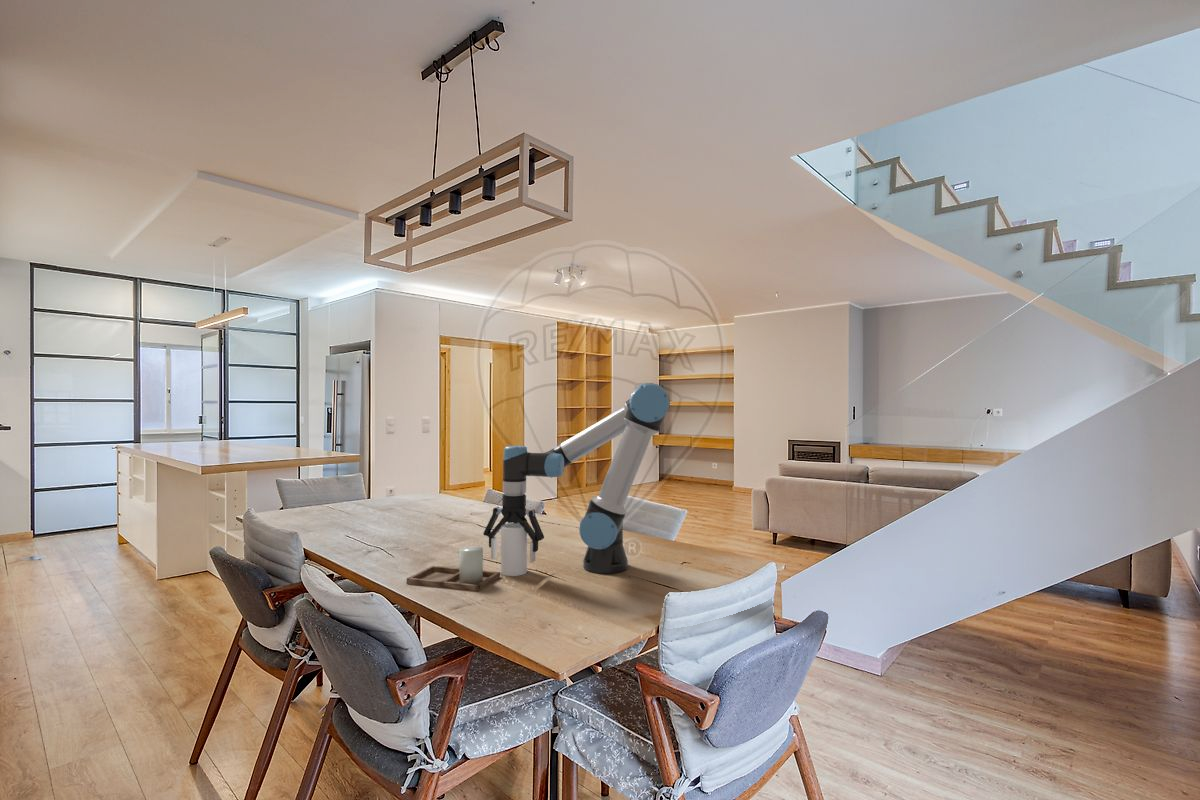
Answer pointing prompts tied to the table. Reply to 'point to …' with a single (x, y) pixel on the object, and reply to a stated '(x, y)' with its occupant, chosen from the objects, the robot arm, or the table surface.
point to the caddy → (449, 578)
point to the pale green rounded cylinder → (471, 565)
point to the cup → (513, 549)
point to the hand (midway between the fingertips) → (513, 559)
